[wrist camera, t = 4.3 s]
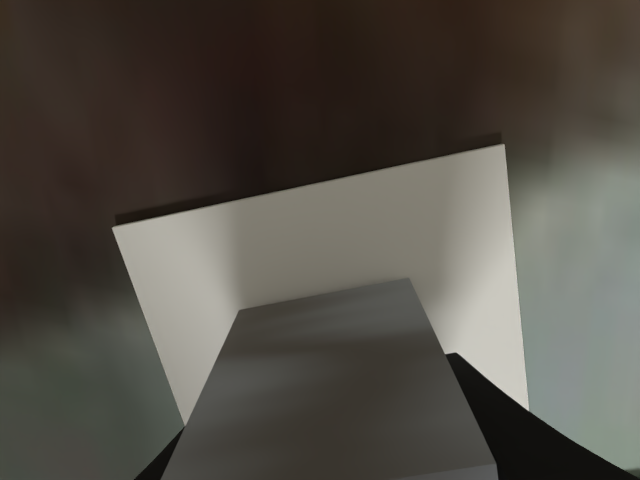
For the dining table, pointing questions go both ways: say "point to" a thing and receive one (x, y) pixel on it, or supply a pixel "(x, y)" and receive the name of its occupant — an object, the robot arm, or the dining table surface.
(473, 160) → the tile
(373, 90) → the dining table surface
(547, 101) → the dining table surface
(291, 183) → the dining table surface
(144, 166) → the dining table surface
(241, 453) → the grey block
